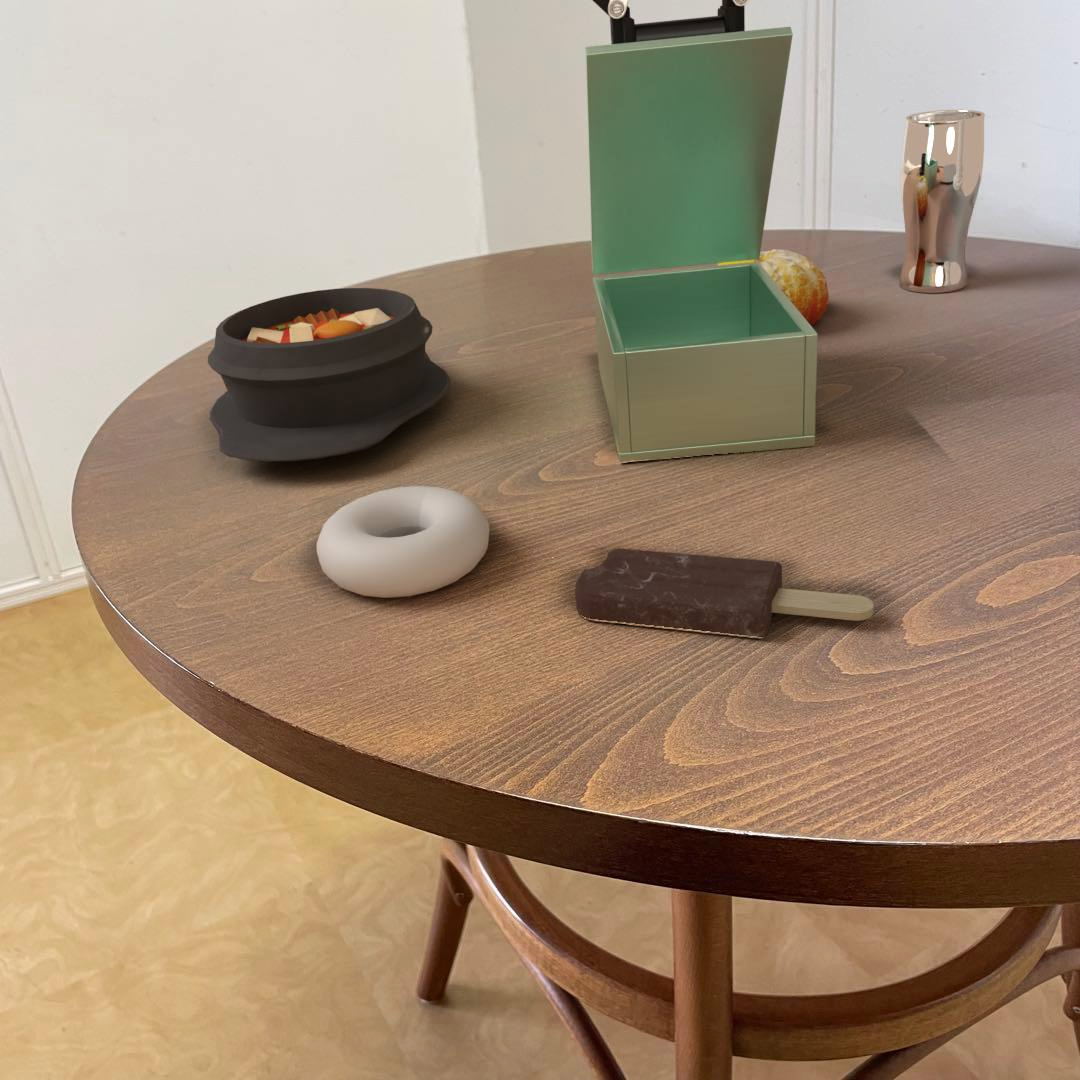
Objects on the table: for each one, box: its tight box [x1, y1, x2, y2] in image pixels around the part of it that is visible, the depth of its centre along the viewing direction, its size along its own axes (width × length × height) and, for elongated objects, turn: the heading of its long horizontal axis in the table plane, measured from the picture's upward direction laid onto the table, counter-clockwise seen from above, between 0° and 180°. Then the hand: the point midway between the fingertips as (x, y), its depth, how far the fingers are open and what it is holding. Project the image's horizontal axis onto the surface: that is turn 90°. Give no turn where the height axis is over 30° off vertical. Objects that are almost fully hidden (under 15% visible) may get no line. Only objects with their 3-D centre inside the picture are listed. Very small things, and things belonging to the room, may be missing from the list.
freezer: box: [592, 262, 819, 463], centre depth 82 cm, size 19×13×8 cm
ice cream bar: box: [574, 548, 874, 638], centre depth 58 cm, size 5×2×15 cm
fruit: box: [716, 248, 830, 327], centre depth 99 cm, size 11×10×8 cm
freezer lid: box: [584, 15, 794, 276], centre depth 81 cm, size 20×13×5 cm
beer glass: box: [898, 109, 986, 294], centre depth 102 cm, size 7×7×15 cm
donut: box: [316, 485, 490, 599], centre depth 65 cm, size 10×4×10 cm
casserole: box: [207, 287, 451, 463], centre depth 86 cm, size 25×19×8 cm
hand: (678, 72), depth 77 cm, fingers closed on freezer lid, 6 cm apart
